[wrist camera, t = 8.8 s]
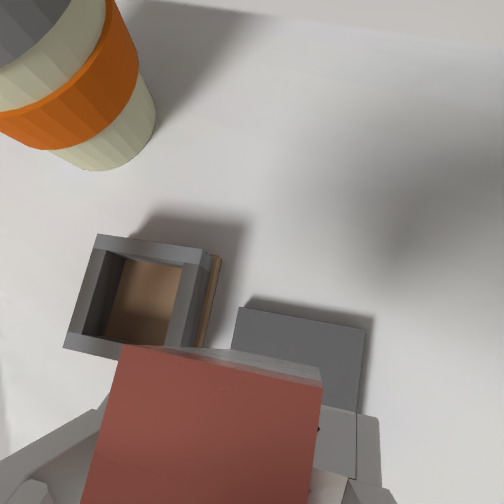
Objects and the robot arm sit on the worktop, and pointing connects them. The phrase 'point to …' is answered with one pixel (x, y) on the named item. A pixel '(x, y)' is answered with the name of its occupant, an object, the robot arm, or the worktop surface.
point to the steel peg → (205, 429)
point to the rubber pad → (307, 349)
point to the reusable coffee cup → (73, 82)
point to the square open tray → (142, 297)
